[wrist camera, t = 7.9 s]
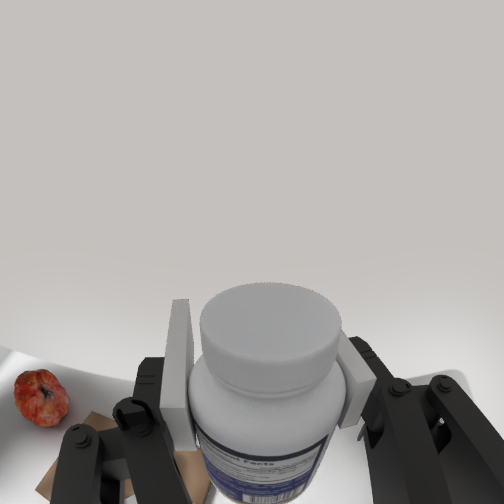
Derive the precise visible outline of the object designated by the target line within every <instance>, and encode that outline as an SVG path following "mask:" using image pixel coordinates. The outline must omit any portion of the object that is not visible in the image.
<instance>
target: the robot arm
mask: <svg viewBox="0 0 504 504" xmlns="http://www.w3.org/2000/svg"><path fill="white" fill-rule="evenodd" d="M335 360H336V361H337V363H338V364H339V366H340V368H341V370H342V372H343V375H344V378H345V384H346V395H345V401H344V405H343V409H342V412H341V415H340V418H339V420H338V422H337V424H338V426H339V428H340V429H342V428H346V427H349V426H352V425H356V424H357V423H358V421H359V419H360V417H361V416H362V418H363V420H364V421H365V424H364V425H363V427H362V429H361V431H360V433H359V435H358V439H357V441H360V440H361V438H362V436H364V442H365V448H366V454H367V460H368V466H369V473H370V480H371V487H372V495H373V503H374V504H504V440H503V439H502V437H501V436H500V435H499V433H498V432H497V431H496V430H495V428H494V427H493V426H492V425H491V423H490V422H489V421H488V419H487V418H486V417H485V416H484V414H483V413H482V412H481V411H480V410H479V408H478V407H477V406H476V405H475V404H474V402H473V401H472V400H471V399H470V398H469V396H468V395H467V394H466V393H465V392H464V390H463V389H462V388H461V387H460V386H459V385H458V384H457V382H456V381H455V380H454V379H452V378H451V377H449V376H447V375H436V376H435V377H433V378H432V380H431V382H430V384H429V385H420V386H412V385H411V384H410V383H409V382H408V381H406V380H404V379H401V378H394V377H393V375H392V374H391V373H390V372H389V370H388V369H387V368H386V366H385V365H384V364H383V363H382V361H381V360H380V359H379V357H377V355H376V354H375V352H374V351H372V349H371V347H370V346H369V345H368V343H367V342H365V341H364V340H362V339H361V338H359V337H357V336H356V337H351V338H348V337H347V336H346V335H345V333H344V332H343V331H342V330H341V333H340V338H339V344H338V350H337V356H336V359H335ZM193 367H194V341H193V334H192V325H191V317H190V308H189V299H180V300H173V303H172V309H171V316H170V322H169V329H168V337H167V345H166V352H165V357H147V358H146V357H145V359H144V360H143V361H142V362H141V364H140V365H139V367H138V372H137V377H136V382H135V387H134V392H133V397H128V398H125V399H122V400H121V401H120V402H118V403H117V404H116V406H115V407H114V409H113V415H112V416H113V418H114V419H115V421H116V423H117V425H118V427H115V428H112V429H107V430H101V431H96V430H95V429H94V428H93V427H92V426H90V425H87V424H76V425H74V426H71V427H70V428H69V429H68V430H67V431H66V433H65V435H64V437H63V441H62V445H61V449H60V453H59V457H58V462H57V466H56V471H55V476H54V481H53V487H52V493H51V499H50V504H124V502H125V480H126V479H131V482H132V486H133V490H134V494H135V497H136V501H137V504H193V502H192V500H191V498H190V495H189V493H188V491H187V488H186V486H185V483H184V481H183V478H182V476H181V473H180V470H179V468H178V465H177V462H176V460H175V458H174V447H175V450H176V451H197V446H196V430H195V426H194V422H193V418H192V414H191V410H190V406H189V399H188V381H189V376H190V373H191V371H192V369H193ZM440 418H442V419H443V420H444V424H442V423H441V422H440V421H439V420H440Z"/></svg>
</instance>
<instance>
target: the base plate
mask: <svg viewBox="0 0 504 504" xmlns="http://www.w3.org/2000/svg"><path fill="white" fill-rule="evenodd" d="M83 424H87V425H90V426H92V427H93V428H94V429H95V430H96V431H101V430H107V429H112V428H115V427H118V425H117V423H116V421H113V420H111V419H109V418H106V417H104V416H102V415H100V414H97V413H95V412H93V411H92V412H91V413H90V415H89V416H88V417H87V419H86V420H85V421H84V423H83ZM174 458H175V460H176V462H177V465H178V468H179V470H180V473H181V476H182V478H183V481H184V483H185V486H186V488H187V491H188V493H189V495H190V498H191V500H192V502H193V504H204V502H205V499H206V496H207V494H208V491H209V488H210V485H211V482H212V481H211V479H210V477H209V474H208V471H207V468H206V465H205V461H204V458H203V455H202V451H201V449H200V448H197V451H176V450H175V447H174ZM57 462H58V458H57V459H56V461H55V462H54V463H53V465H52V466H51V468H50V469H49V470H48V472H47V473H46V475H45V476H44V477H43V479H42V480H41V482H40V483H39V485H38V486H37V487H36V489H35V490H36V491H37V492H38V493H39V494H41V495H42V496H43V497H44V498H46V499H47V500H48V501H50V499H51V493H52V487H53V481H54V476H55V471H56V466H57ZM132 495H134V490H133V486H132V482H131V479H126V480H125V499H127V498H129V497H130V496H132Z"/></svg>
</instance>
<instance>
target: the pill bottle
mask: <svg viewBox="0 0 504 504" xmlns="http://www.w3.org/2000/svg"><path fill="white" fill-rule="evenodd" d="M200 332H201V343H202V351H203V355H202V356H201V357H200V358H199V359H198V361H197V362H196V363H195V365H194V367H193V369H192V371H191V373H190V376H189V381H188V399H189V406H190V410H191V414H192V418H193V422H194V426H195V430H196V433H197V437H198V441H199V444H200V448H201V451H202V455H203V458H204V461H205V465H206V468H207V471H208V474H209V477H210V479H211V481H212V483H213V485H214V486H215V488H216V489H217V490H218V491H219V492H220V493H221V494H222V495H223V496H225V497H226V498H228V499H229V500H231V501H233V502H235V503H237V504H286V503H288V502H290V501H292V500H294V499H295V498H297V497H298V496H299V495H301V494H302V493H303V492H304V491H305V490H306V489H307V487H308V486H309V484H310V483H311V481H312V479H313V477H314V475H315V473H316V471H317V469H318V467H319V465H320V462H321V460H322V458H323V456H324V454H325V451H326V449H327V447H328V444H329V442H330V439H331V437H332V434H333V432H334V430H335V427H336V425H337V422H338V420H339V418H340V415H341V412H342V409H343V405H344V401H345V395H346V384H345V378H344V375H343V372H342V370H341V368H340V366H339V364H338V363H337V361H336V360H335V359H336V356H337V350H338V344H339V338H340V333H341V318H340V315H339V312H338V310H337V309H336V307H335V306H334V305H333V304H332V303H331V302H330V301H329V300H328V299H326V298H325V297H323V296H322V295H320V294H318V293H316V292H314V291H312V290H309V289H306V288H303V287H299V286H294V285H289V284H282V283H254V284H246V285H241V286H237V287H234V288H231V289H228V290H226V291H223V292H222V293H220V294H218V295H216V296H215V297H213V298H212V299H211V300H210V301H209V302H208V303H207V304H206V305H205V307H204V309H203V311H202V313H201V317H200Z"/></svg>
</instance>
